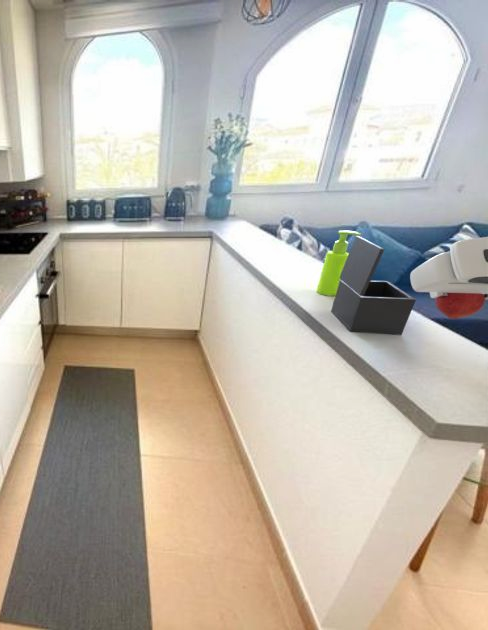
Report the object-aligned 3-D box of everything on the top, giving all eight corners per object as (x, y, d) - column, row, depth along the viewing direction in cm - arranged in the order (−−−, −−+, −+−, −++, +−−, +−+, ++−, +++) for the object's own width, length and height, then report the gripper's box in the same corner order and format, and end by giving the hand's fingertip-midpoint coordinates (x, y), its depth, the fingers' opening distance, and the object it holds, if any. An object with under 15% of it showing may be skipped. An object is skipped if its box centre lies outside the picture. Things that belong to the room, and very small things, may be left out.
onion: (443, 325, 62) (460, 284, 59) (421, 311, 67) (436, 273, 64) (483, 326, 61) (503, 283, 57) (459, 312, 66) (476, 272, 62)
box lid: (359, 236, 90) (356, 235, 90) (384, 249, 79) (380, 248, 80) (342, 278, 96) (338, 278, 96) (363, 296, 85) (359, 295, 85)
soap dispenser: (339, 298, 107) (359, 234, 99) (314, 292, 112) (330, 231, 104) (344, 292, 111) (363, 230, 102) (319, 287, 116) (335, 228, 107)
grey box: (376, 313, 97) (388, 281, 93) (401, 334, 86) (416, 299, 82) (330, 311, 100) (340, 279, 96) (349, 331, 89) (361, 297, 85)
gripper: (626, 239, 48) (529, 280, 61) (443, 241, 54) (389, 278, 66) (643, 280, 46) (539, 314, 59) (451, 277, 52) (393, 308, 64)
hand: (458, 295), depth 63 cm, fingers closed on onion, 5 cm apart
